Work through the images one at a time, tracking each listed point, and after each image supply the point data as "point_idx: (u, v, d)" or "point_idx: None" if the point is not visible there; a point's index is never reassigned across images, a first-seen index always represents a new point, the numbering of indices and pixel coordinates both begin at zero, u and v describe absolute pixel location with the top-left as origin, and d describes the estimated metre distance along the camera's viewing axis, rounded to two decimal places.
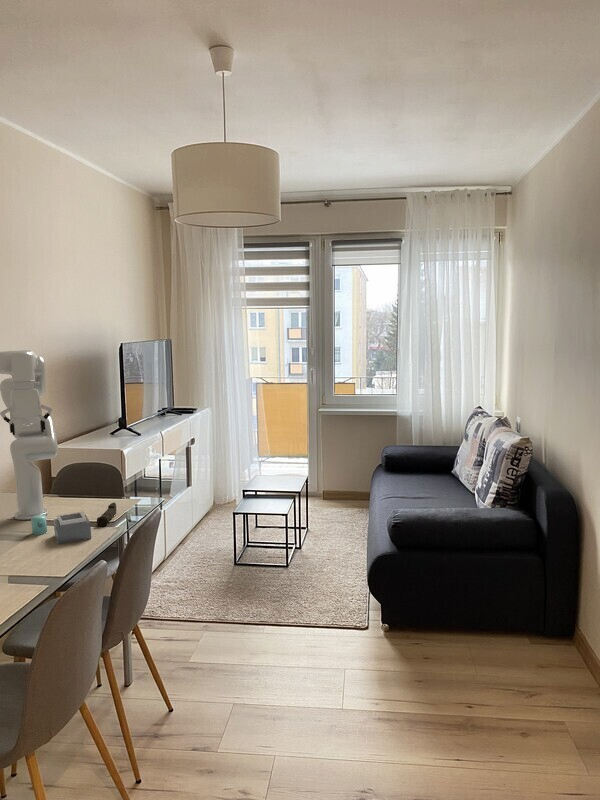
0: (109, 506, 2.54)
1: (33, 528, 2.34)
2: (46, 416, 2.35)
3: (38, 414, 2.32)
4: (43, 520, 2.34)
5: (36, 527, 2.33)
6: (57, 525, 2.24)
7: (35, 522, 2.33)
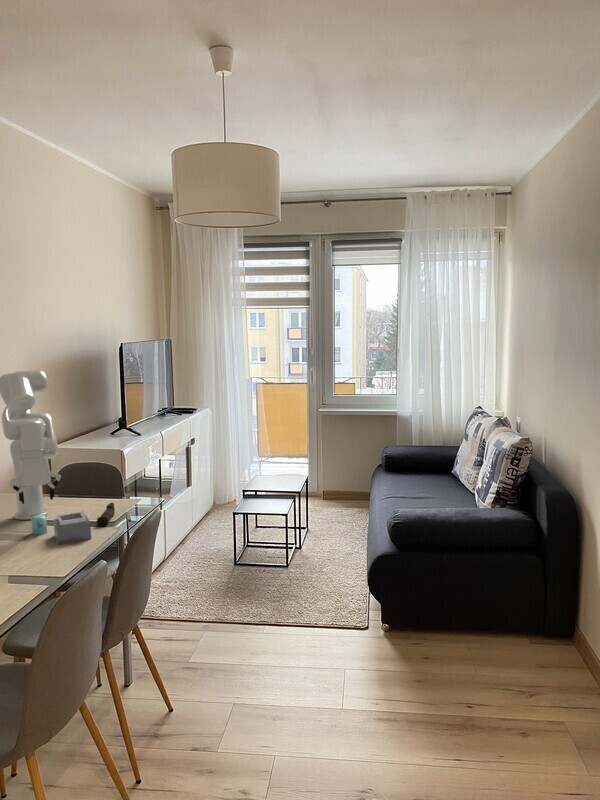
0: (108, 506, 2.53)
1: (33, 528, 2.34)
2: (55, 483, 2.36)
3: (47, 482, 2.33)
4: (43, 520, 2.34)
5: (36, 527, 2.33)
6: (57, 525, 2.24)
7: (35, 522, 2.33)
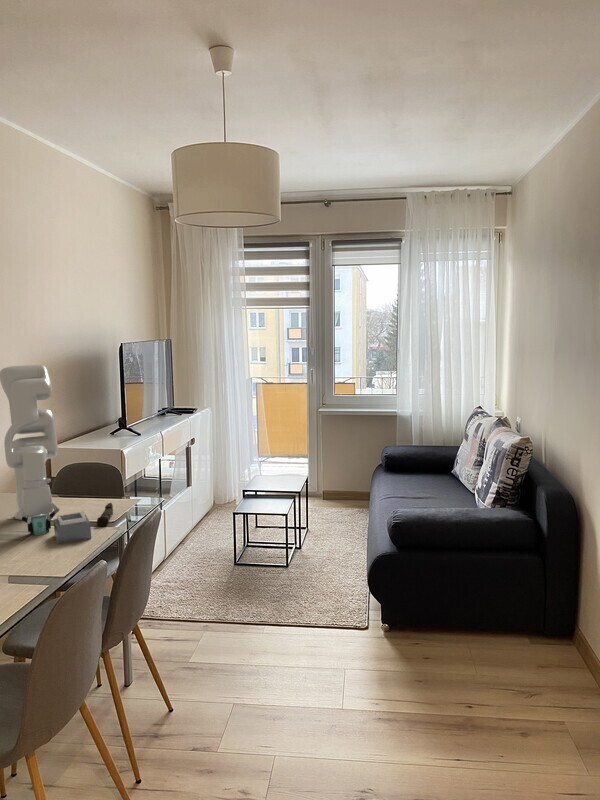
0: (106, 506, 2.53)
1: (33, 528, 2.34)
2: (51, 515, 2.37)
3: (49, 511, 2.35)
4: (43, 520, 2.34)
5: (36, 527, 2.33)
6: (57, 525, 2.24)
7: (35, 522, 2.33)
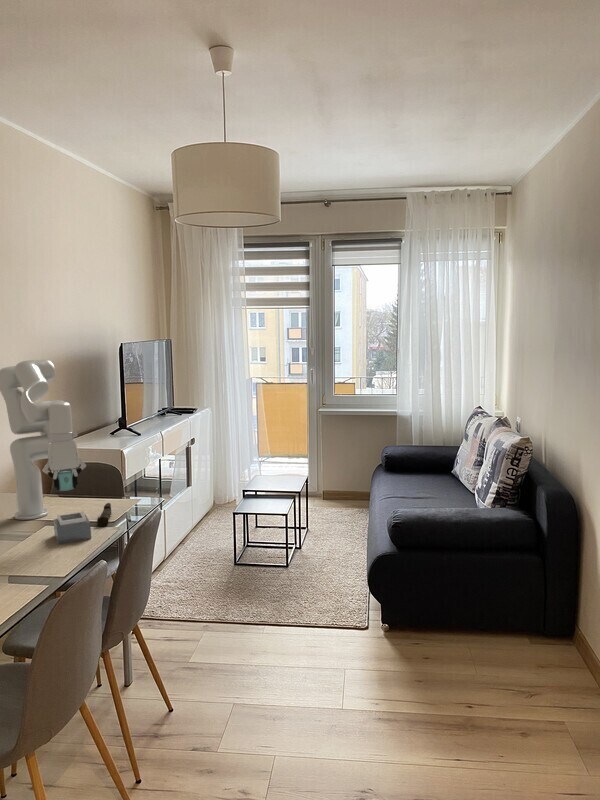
0: (105, 506, 2.53)
1: (59, 484, 2.26)
2: (78, 471, 2.29)
3: (76, 466, 2.27)
4: (69, 476, 2.26)
5: (63, 482, 2.25)
6: (57, 525, 2.24)
7: (62, 477, 2.25)
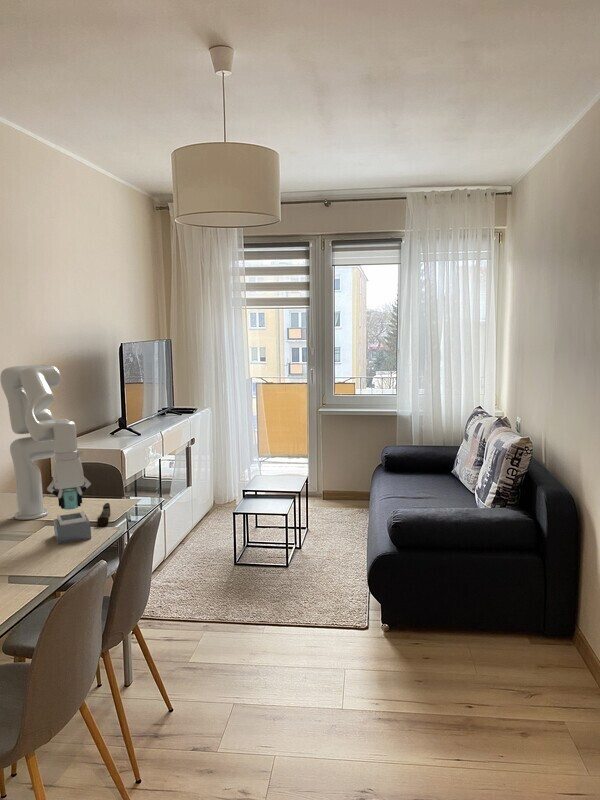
0: (104, 506, 2.53)
1: (64, 502, 2.26)
2: (83, 489, 2.29)
3: (81, 484, 2.27)
4: (74, 494, 2.26)
5: (67, 501, 2.25)
6: (57, 525, 2.24)
7: (66, 496, 2.25)
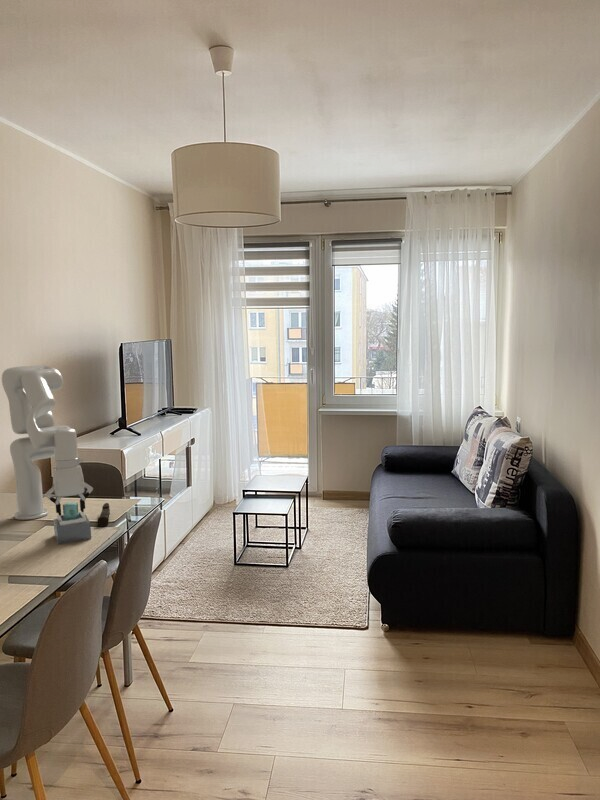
0: (104, 507, 2.53)
1: (65, 516, 2.27)
2: (86, 495, 2.30)
3: (81, 492, 2.28)
4: (75, 508, 2.27)
5: (68, 515, 2.26)
6: (57, 525, 2.24)
7: (67, 509, 2.26)
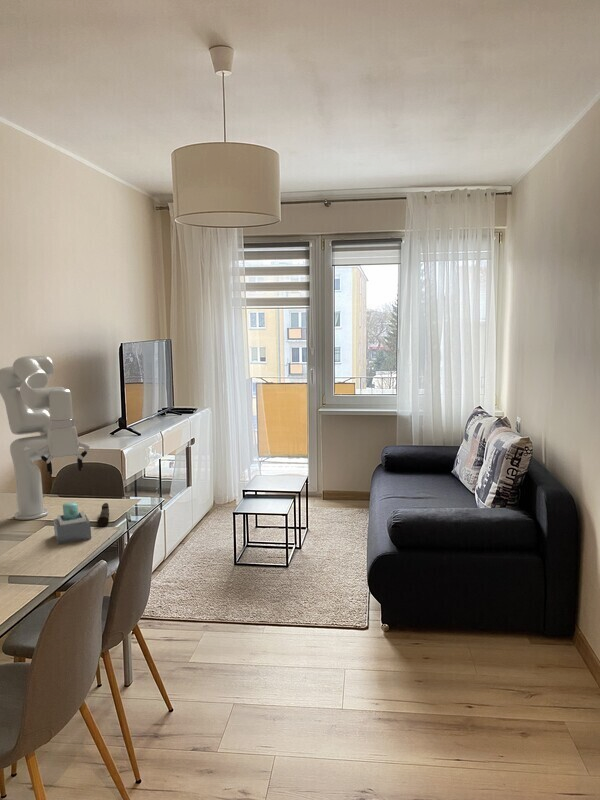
0: (103, 506, 2.53)
1: (65, 516, 2.27)
2: (83, 454, 2.30)
3: (76, 452, 2.27)
4: (75, 508, 2.27)
5: (68, 515, 2.26)
6: (57, 525, 2.24)
7: (67, 509, 2.26)
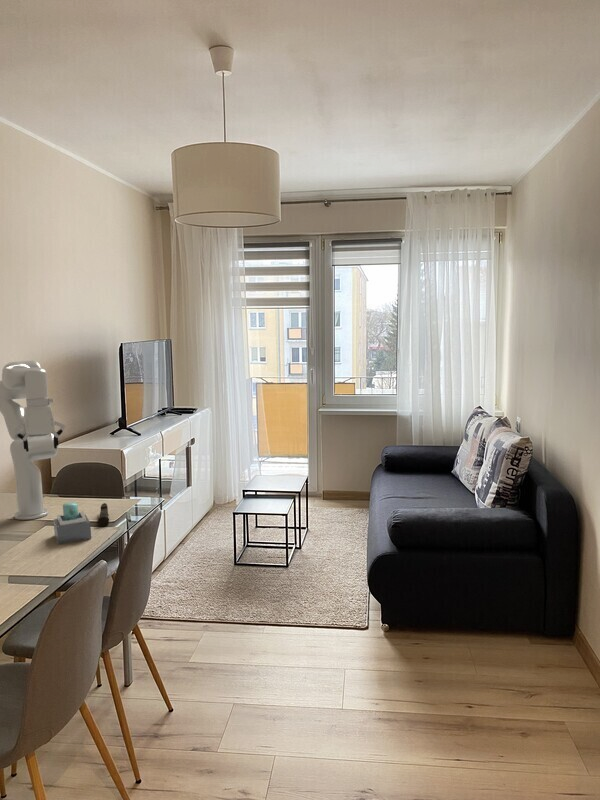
0: (102, 507, 2.53)
1: (65, 516, 2.27)
2: (59, 432, 2.37)
3: (51, 431, 2.35)
4: (75, 508, 2.27)
5: (68, 515, 2.26)
6: (57, 525, 2.24)
7: (67, 509, 2.26)
